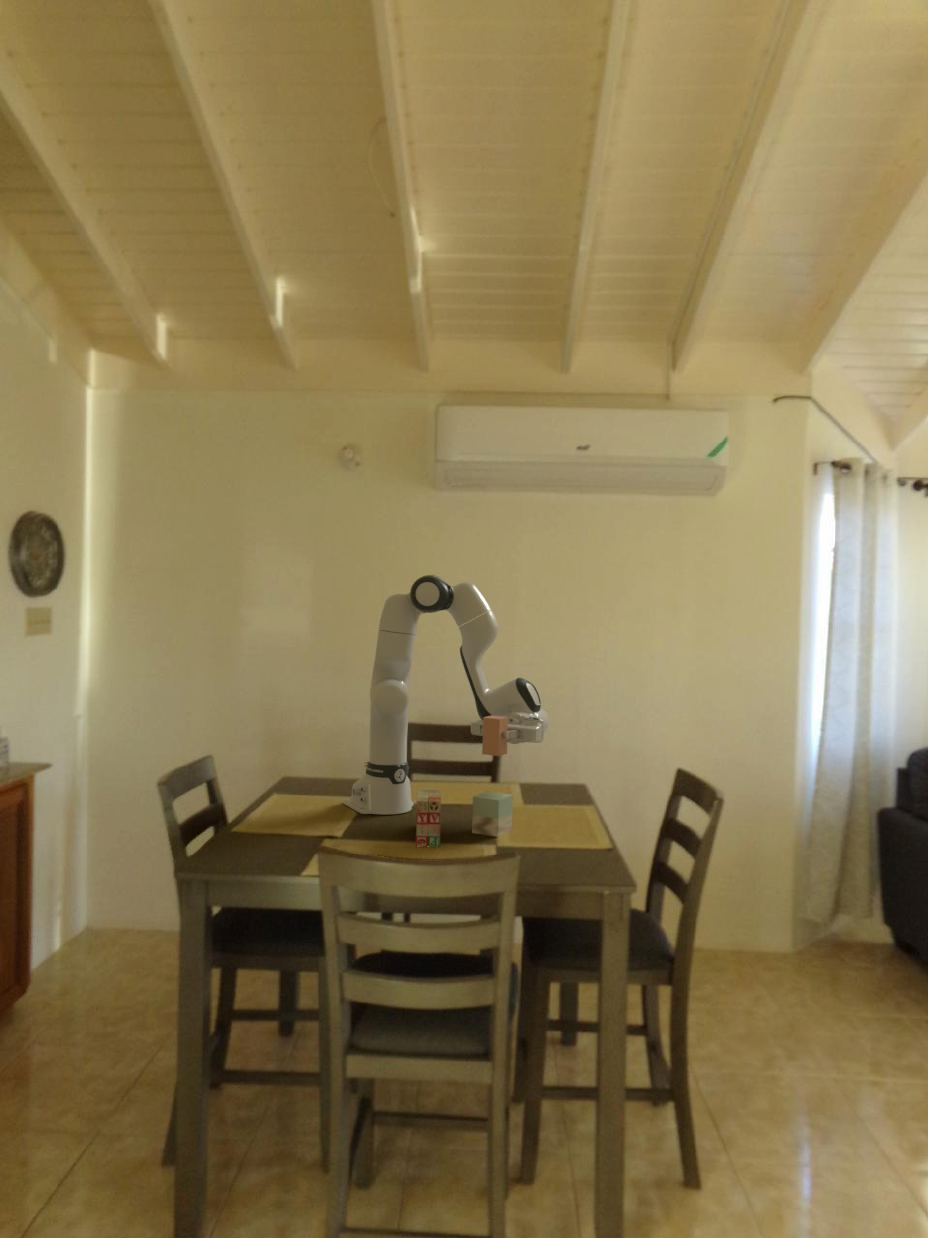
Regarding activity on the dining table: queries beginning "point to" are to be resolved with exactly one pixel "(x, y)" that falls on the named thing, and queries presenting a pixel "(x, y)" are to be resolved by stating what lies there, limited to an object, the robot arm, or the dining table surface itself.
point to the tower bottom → (491, 825)
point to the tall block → (494, 735)
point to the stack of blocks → (428, 818)
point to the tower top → (492, 805)
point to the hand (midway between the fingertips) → (493, 734)
